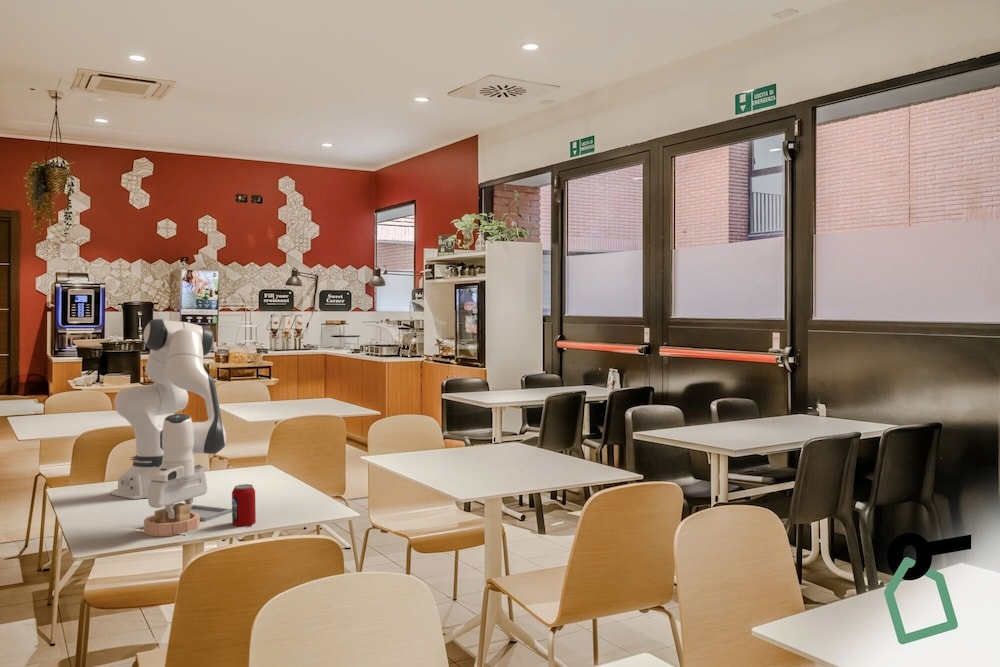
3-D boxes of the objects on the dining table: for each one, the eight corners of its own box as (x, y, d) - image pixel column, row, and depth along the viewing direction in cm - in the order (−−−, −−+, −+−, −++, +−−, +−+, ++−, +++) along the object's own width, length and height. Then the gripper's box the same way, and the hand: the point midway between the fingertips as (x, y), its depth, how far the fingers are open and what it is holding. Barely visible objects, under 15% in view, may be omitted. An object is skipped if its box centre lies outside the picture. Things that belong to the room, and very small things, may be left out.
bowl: (133, 533, 237) (133, 521, 237) (171, 521, 251) (171, 509, 251) (172, 538, 232) (172, 526, 231) (209, 525, 245) (209, 513, 245)
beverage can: (235, 522, 249) (234, 484, 248) (257, 522, 249) (257, 483, 249) (229, 528, 242) (229, 488, 242) (253, 528, 242) (252, 488, 242)
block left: (154, 527, 241) (154, 511, 241) (165, 524, 245) (164, 508, 245) (165, 529, 240) (164, 512, 240) (175, 525, 243) (175, 509, 243)
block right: (169, 522, 239) (169, 505, 239) (179, 519, 243) (179, 502, 243) (179, 524, 238) (179, 507, 237) (189, 520, 241) (189, 504, 241)
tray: (165, 518, 255) (165, 513, 255) (193, 509, 266) (193, 504, 266) (205, 523, 249) (205, 517, 249) (232, 513, 260) (232, 508, 260)
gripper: (195, 462, 251) (196, 507, 251) (143, 475, 232) (144, 523, 232) (211, 464, 248) (212, 508, 249) (160, 477, 229) (161, 525, 230)
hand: (179, 516), depth 240 cm, fingers closed on block right, 4 cm apart
